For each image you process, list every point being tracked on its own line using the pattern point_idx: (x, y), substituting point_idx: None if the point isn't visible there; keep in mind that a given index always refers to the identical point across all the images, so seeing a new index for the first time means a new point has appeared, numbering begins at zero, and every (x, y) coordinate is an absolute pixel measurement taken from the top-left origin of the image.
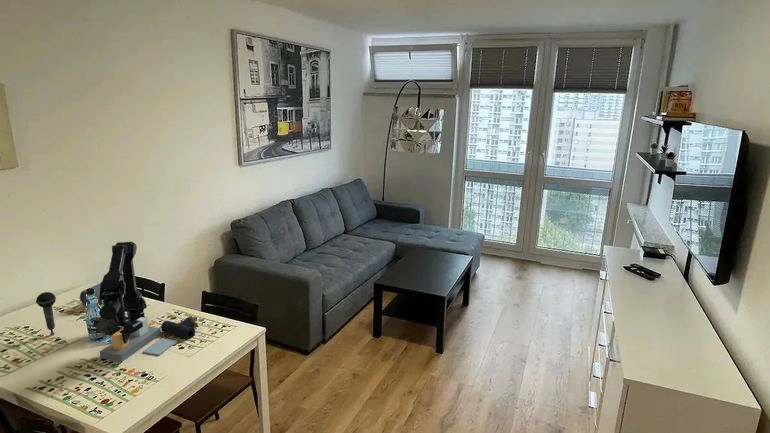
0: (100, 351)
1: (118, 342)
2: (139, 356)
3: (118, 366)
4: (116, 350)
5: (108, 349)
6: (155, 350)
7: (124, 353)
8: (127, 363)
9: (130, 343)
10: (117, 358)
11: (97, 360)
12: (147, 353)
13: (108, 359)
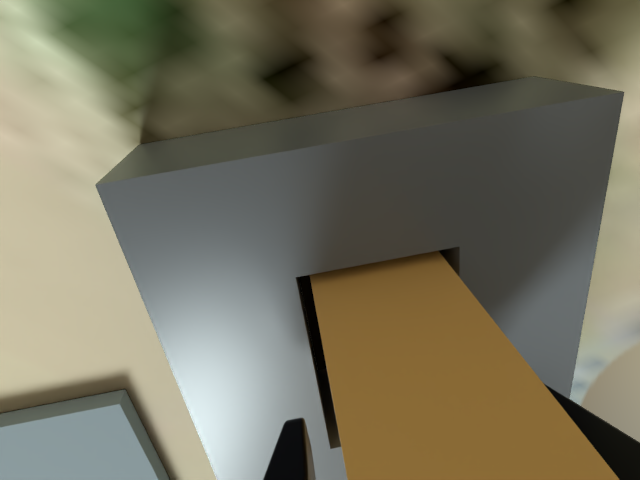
0: (607, 98)
1: (337, 410)
2: (73, 333)
3: (45, 23)
4: (343, 252)
5: (508, 211)
6: (5, 475)
7: (132, 259)
8: (18, 154)
9: (320, 446)
10: (212, 144)
11: (535, 4)
12: (49, 406)
13: (392, 101)
